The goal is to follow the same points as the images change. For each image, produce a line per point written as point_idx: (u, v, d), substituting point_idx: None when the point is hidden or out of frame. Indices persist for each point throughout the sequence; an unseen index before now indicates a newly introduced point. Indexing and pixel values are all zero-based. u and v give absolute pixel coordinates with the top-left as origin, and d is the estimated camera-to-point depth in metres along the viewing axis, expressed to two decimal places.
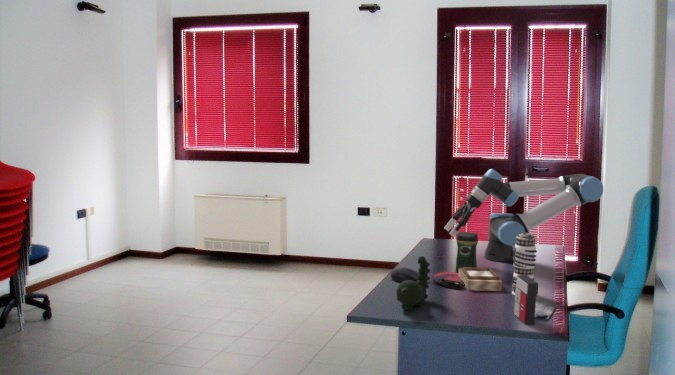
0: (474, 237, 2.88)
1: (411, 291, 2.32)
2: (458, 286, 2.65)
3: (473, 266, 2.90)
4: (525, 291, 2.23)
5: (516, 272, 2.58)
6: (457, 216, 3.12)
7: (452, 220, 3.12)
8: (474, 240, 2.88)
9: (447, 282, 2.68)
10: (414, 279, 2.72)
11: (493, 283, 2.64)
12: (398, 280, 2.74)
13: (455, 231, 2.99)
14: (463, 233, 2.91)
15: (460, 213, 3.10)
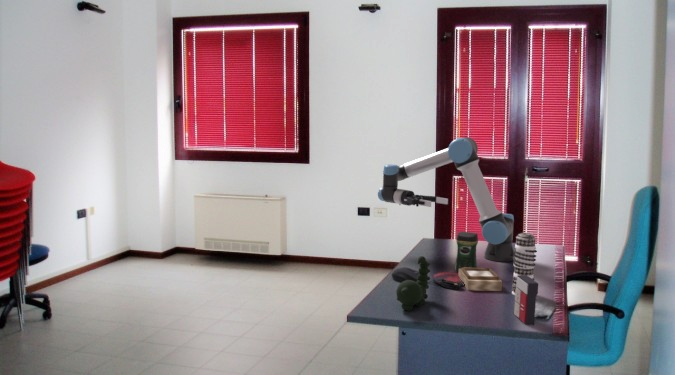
0: (474, 237, 2.88)
1: (411, 291, 2.32)
2: (457, 287, 2.64)
3: (473, 266, 2.90)
4: (525, 291, 2.23)
5: (516, 272, 2.58)
6: (431, 199, 3.17)
7: (437, 201, 3.15)
8: (474, 240, 2.88)
9: (446, 282, 2.67)
10: (414, 279, 2.73)
11: (493, 283, 2.64)
12: (398, 279, 2.75)
13: (425, 202, 3.04)
14: (463, 233, 2.91)
15: (426, 199, 3.17)
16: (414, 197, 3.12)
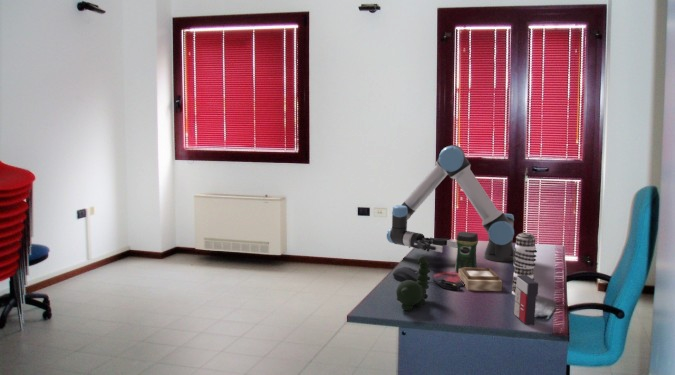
0: (474, 237, 2.88)
1: (411, 291, 2.32)
2: (455, 287, 2.63)
3: (473, 266, 2.90)
4: (525, 291, 2.23)
5: (516, 272, 2.58)
6: (442, 242, 3.09)
7: (448, 244, 3.07)
8: (474, 240, 2.88)
9: (445, 283, 2.67)
10: (413, 279, 2.73)
11: (493, 283, 2.64)
12: (398, 279, 2.76)
13: (436, 248, 2.96)
14: (463, 233, 2.91)
15: (436, 243, 3.09)
16: (424, 241, 3.04)
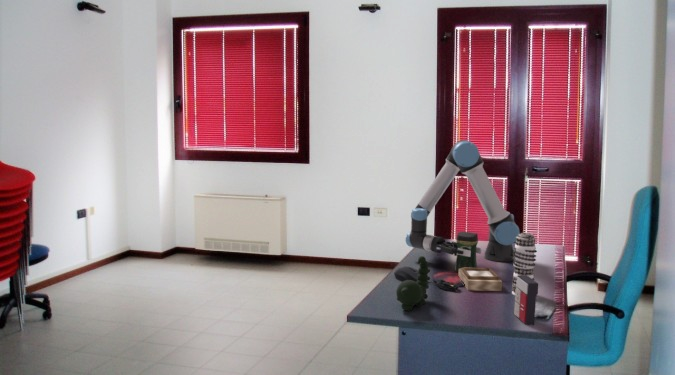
0: (474, 237, 2.88)
1: (411, 291, 2.32)
2: (452, 288, 2.62)
3: (473, 266, 2.90)
4: (525, 291, 2.23)
5: (516, 272, 2.58)
6: None
7: None
8: (474, 240, 2.88)
9: (443, 284, 2.66)
10: (413, 278, 2.73)
11: (493, 283, 2.64)
12: (398, 278, 2.77)
13: (464, 252, 2.88)
14: (463, 233, 2.91)
15: (457, 247, 3.00)
16: (448, 245, 2.96)
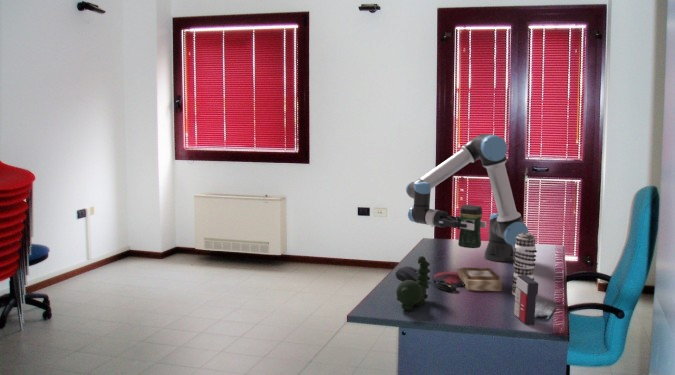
0: (478, 210, 2.75)
1: (411, 291, 2.32)
2: (449, 289, 2.61)
3: (477, 240, 2.77)
4: (525, 291, 2.23)
5: (516, 272, 2.58)
6: None
7: None
8: (478, 213, 2.75)
9: (441, 284, 2.65)
10: (412, 278, 2.74)
11: (493, 283, 2.64)
12: (399, 278, 2.78)
13: (468, 225, 2.75)
14: (467, 206, 2.79)
15: None
16: (451, 219, 2.84)
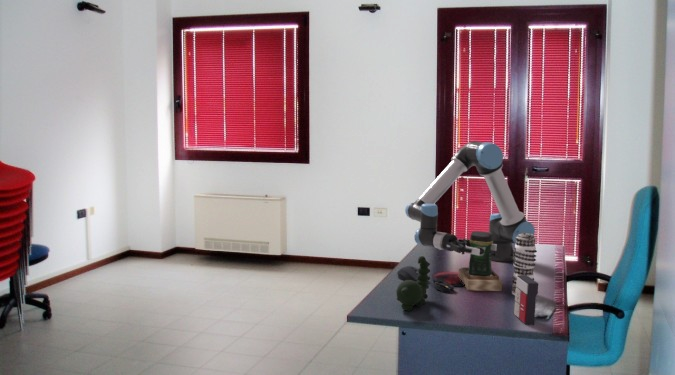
0: (489, 237, 2.68)
1: (411, 291, 2.32)
2: (446, 289, 2.60)
3: (488, 268, 2.69)
4: (525, 291, 2.23)
5: (516, 272, 2.58)
6: None
7: None
8: (489, 240, 2.68)
9: (439, 284, 2.64)
10: (412, 278, 2.74)
11: (493, 283, 2.64)
12: (400, 277, 2.79)
13: (473, 250, 2.67)
14: (477, 232, 2.71)
15: None
16: (458, 243, 2.76)
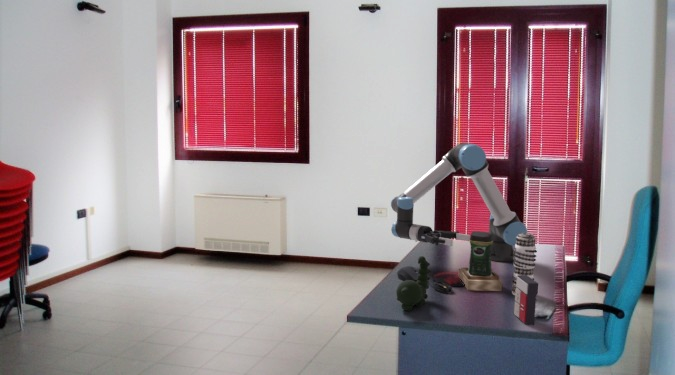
0: (489, 237, 2.68)
1: (411, 291, 2.32)
2: (444, 290, 2.59)
3: (488, 268, 2.69)
4: (525, 291, 2.23)
5: (516, 272, 2.58)
6: (451, 235, 2.90)
7: (458, 237, 2.88)
8: (489, 240, 2.68)
9: (438, 285, 2.64)
10: (411, 278, 2.74)
11: (493, 283, 2.64)
12: (399, 277, 2.79)
13: (446, 241, 2.77)
14: (477, 233, 2.71)
15: (445, 236, 2.90)
16: (432, 234, 2.85)
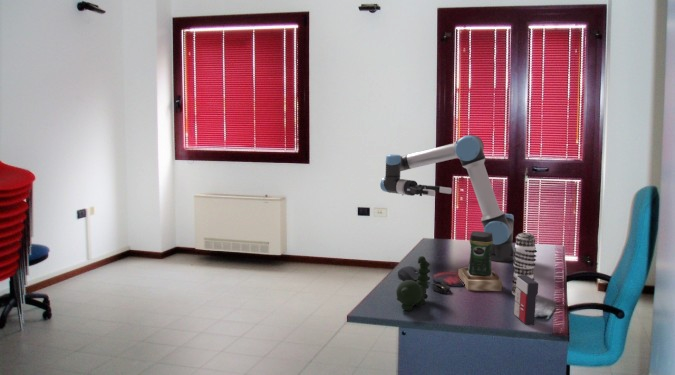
0: (489, 237, 2.68)
1: (411, 291, 2.32)
2: (442, 290, 2.58)
3: (488, 268, 2.69)
4: (525, 291, 2.23)
5: (516, 272, 2.58)
6: (435, 189, 3.13)
7: (441, 190, 3.12)
8: (489, 240, 2.68)
9: (436, 285, 2.63)
10: (411, 278, 2.74)
11: (493, 283, 2.64)
12: (399, 277, 2.79)
13: (429, 192, 3.00)
14: (477, 233, 2.71)
15: (429, 189, 3.13)
16: (417, 187, 3.09)
